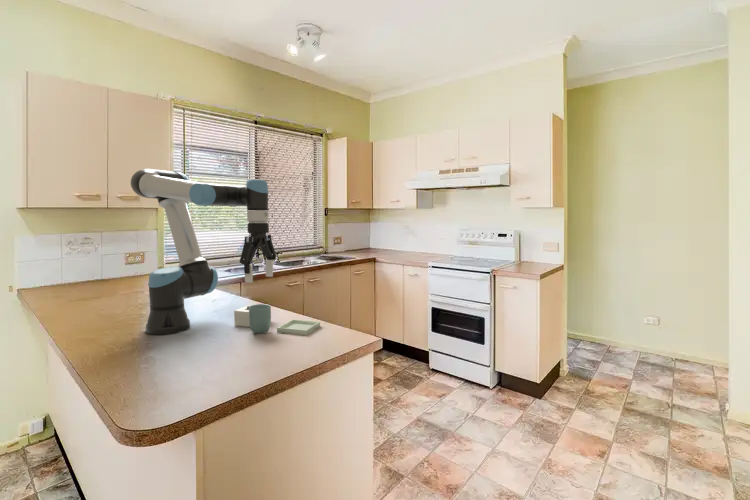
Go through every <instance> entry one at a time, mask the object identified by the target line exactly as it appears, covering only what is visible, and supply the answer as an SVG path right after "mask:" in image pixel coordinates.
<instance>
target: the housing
mask: <svg viewBox="0 0 750 500" xmlns="http://www.w3.org/2000/svg"><path fill="white" fill-rule="evenodd" d="M252 305H253V304H251V305H250V304H248V305H246V306H243V307H240V308H238V309H235V310H234V311H233V314H234V326H237V327H238V326H239V327H245V328H247V327H248V328H250V323H249V310H247V307H248V306H252Z"/></svg>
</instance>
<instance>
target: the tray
mask: <svg viewBox="0 0 750 500" xmlns="http://www.w3.org/2000/svg"><path fill="white" fill-rule="evenodd" d="M319 327H321V321H314V320H305V319H304V320H303V319H294V318H293V319H290V320H288V321H286V322H285V323H282V324H281V325H279V326H277V327H276V333H279V334H280V333H281V334H287V335H288V334H289V335H299V336H300V335H301V336H308V335H309V334H311V333H313V332H314V331H316V330H317V329H319Z"/></svg>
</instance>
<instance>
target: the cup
mask: <svg viewBox="0 0 750 500" xmlns="http://www.w3.org/2000/svg"><path fill="white" fill-rule="evenodd" d="M251 305H252V306H250V307H249V323H250V327H249V328H250V331H251V332H252V333H253V334H255V335H257V334H259V335H262V334H266V333H268V332H269V330H270V328H271V324H272V309H271V308H272V305H270V304H267V303H266V304H264V303H259V304H258V303H257V304H251Z"/></svg>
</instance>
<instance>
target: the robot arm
mask: <svg viewBox="0 0 750 500" xmlns="http://www.w3.org/2000/svg"><path fill="white" fill-rule="evenodd" d="M245 183H246V184H245V185H226V184H225V185H224V184H216V183H215V184H214V183H207V182H199V181H192V180H190V179H189V177H188V176H187V175H186V174H184V173H182V172H179V171H174V170H161V169H153V168H143V169H140V170H137V171H136V172H134V173H133V174H132V176H131V178H130V187H131V189H132V190H133V192H134V194H136V195H138V196H140V197H141V198H146V199H157V202H158V205H159V207H161V208H162V209H164V212H165V214H166V215H165V216H166V218H167V222H168V225H169V229H170V233H171V236H172V239H173V243H174V247H175V251H176V253H177V258H178V261H179V264H178V266H170V267H163V268H159V269H155V270H153V271H152V272H150V274H149V275H148V283H147V284H148V292H149V293H148V294H149V313H148V318H147V323H146V324H145V333H147V334H148V335H155V336H158V335H161V336H162V335H164V336H165V335H171V334H176V333H177V334H178V333H181V332H183V331H184V332H185V331H187V330H188V329H189V328H190V327H191V320H190V319H189V317H188V314H187V311H186V308H185V299H191V298H195V297H198V296H205V295H207V294H210V293H212V292H214V290H215V289H216V287H217V285H218V283H219V275H218V272H217V270H216V268H215V267H214V266H211V265H209V262H208V260H207V259H205V258H204V257H202V252H201V250H200V245H199V242H198V239H197V236H196V232H195V228H194V226H193V225H194V224H193V221H192V218H191V215H190V211H189V209H188V208H189V207H188V205H187V204H188V203H193V204H195V205H196V206H202V207H207V206H209V207H210V206H215V207H216V206H217V207H218V206H219V207H233V208H234V207H246V221H247V222H248V223H246V225H247V233H248V234H250V235H249V236H248V235H245V236H244V243H243V246H242V251H241V255H240V259H239V263H240V264H241V265H243V269H244V270H243V271H244V273H243V274H244V283H249V284H252V283H254V279H253V278H254V275H253V273H254V271H253V264H252V262H253V259H254V256H255V254H256V252H257V250H259V249H261V251H262V253H263V254H264V256H265V277H267V278H268V277H269V278H273V277H274V268H273V267H274V264H273V263H274V261H275V260H276V258H277V254H276V250H275V247H274V243H273V240H272V235H271V234H268V233H269V232H270V226H269V225H270V224H269V223H268V222H269V221H270V220H269V187H268V181H267V180H264V179H256V178H255V179H247V180H246V182H245Z"/></svg>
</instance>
